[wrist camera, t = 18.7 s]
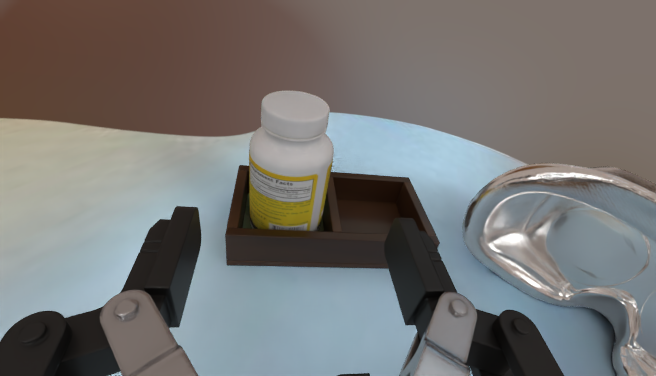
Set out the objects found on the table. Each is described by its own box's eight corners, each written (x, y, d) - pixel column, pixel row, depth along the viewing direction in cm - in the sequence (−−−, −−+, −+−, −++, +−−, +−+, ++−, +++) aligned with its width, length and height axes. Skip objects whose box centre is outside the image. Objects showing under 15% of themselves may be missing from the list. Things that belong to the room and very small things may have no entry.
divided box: (239, 193, 28) (239, 164, 26) (398, 202, 30) (408, 177, 28) (226, 265, 22) (224, 235, 20) (425, 269, 24) (440, 243, 23)
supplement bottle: (286, 191, 28) (298, 79, 22) (333, 225, 25) (361, 111, 19) (233, 218, 24) (230, 95, 18) (282, 262, 22) (296, 136, 16)
